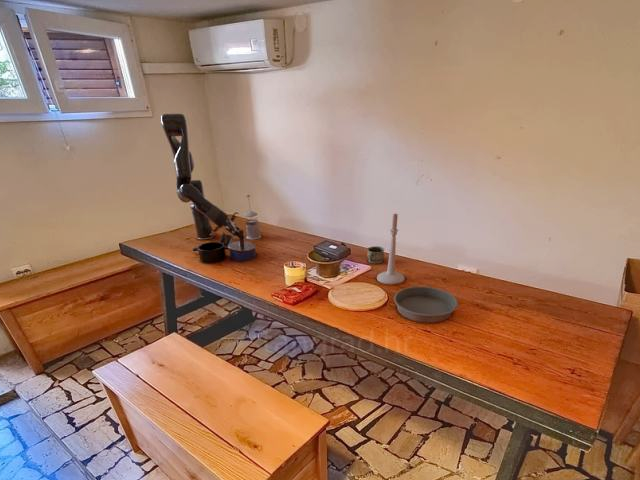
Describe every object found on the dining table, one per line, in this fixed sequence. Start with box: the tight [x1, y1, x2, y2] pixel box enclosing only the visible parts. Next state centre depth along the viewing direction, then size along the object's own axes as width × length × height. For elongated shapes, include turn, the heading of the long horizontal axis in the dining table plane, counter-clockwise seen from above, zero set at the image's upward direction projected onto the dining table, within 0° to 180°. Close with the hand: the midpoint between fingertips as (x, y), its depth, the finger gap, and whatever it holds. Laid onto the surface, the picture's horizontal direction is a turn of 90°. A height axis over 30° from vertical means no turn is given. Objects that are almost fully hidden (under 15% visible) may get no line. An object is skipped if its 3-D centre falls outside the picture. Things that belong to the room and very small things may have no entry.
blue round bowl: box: [228, 248, 257, 262], centre depth 199 cm, size 14×14×5 cm
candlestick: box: [376, 213, 405, 285], centre depth 163 cm, size 13×13×30 cm
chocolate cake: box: [219, 230, 235, 246], centre depth 216 cm, size 10×7×12 cm
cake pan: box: [393, 285, 459, 324], centre depth 146 cm, size 25×25×4 cm
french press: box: [243, 194, 262, 240], centre depth 220 cm, size 10×12×25 cm
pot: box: [192, 241, 229, 265], centre depth 196 cm, size 14×19×7 cm
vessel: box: [366, 245, 385, 264], centre depth 189 cm, size 12×9×6 cm
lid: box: [228, 228, 256, 251], centre depth 195 cm, size 15×15×10 cm
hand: (242, 235), depth 194 cm, fingers open, 8 cm apart
